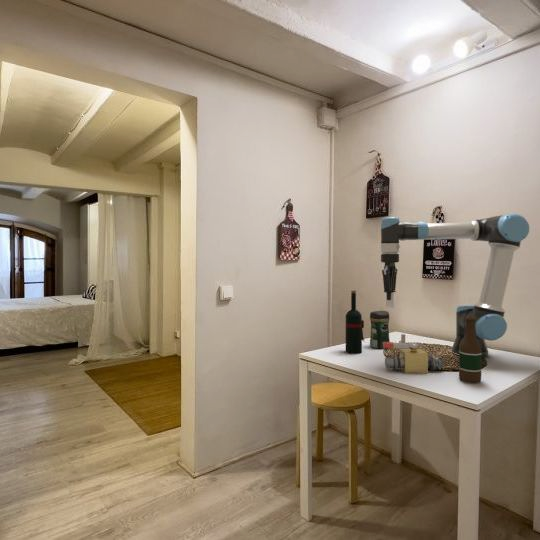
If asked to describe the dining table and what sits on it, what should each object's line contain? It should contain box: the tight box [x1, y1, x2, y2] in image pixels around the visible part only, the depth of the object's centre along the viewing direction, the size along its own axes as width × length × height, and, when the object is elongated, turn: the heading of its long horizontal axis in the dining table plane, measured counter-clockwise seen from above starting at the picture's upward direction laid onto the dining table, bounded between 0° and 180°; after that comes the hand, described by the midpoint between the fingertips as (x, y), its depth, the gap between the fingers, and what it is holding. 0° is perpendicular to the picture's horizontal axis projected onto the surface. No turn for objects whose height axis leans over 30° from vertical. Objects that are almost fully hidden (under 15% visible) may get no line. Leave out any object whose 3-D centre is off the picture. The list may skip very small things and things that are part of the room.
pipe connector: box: [398, 333, 409, 349], centre depth 177 cm, size 10×10×10 cm
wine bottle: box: [345, 290, 366, 355], centre depth 185 cm, size 8×10×30 cm
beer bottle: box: [458, 317, 483, 384], centre depth 143 cm, size 8×8×24 cm
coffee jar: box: [369, 310, 391, 349], centre depth 194 cm, size 10×8×19 cm
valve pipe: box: [384, 348, 444, 374], centre depth 156 cm, size 22×7×9 cm, turn 88°
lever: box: [382, 341, 420, 349], centre depth 156 cm, size 14×4×2 cm, turn 77°
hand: (389, 307), depth 166 cm, fingers closed
